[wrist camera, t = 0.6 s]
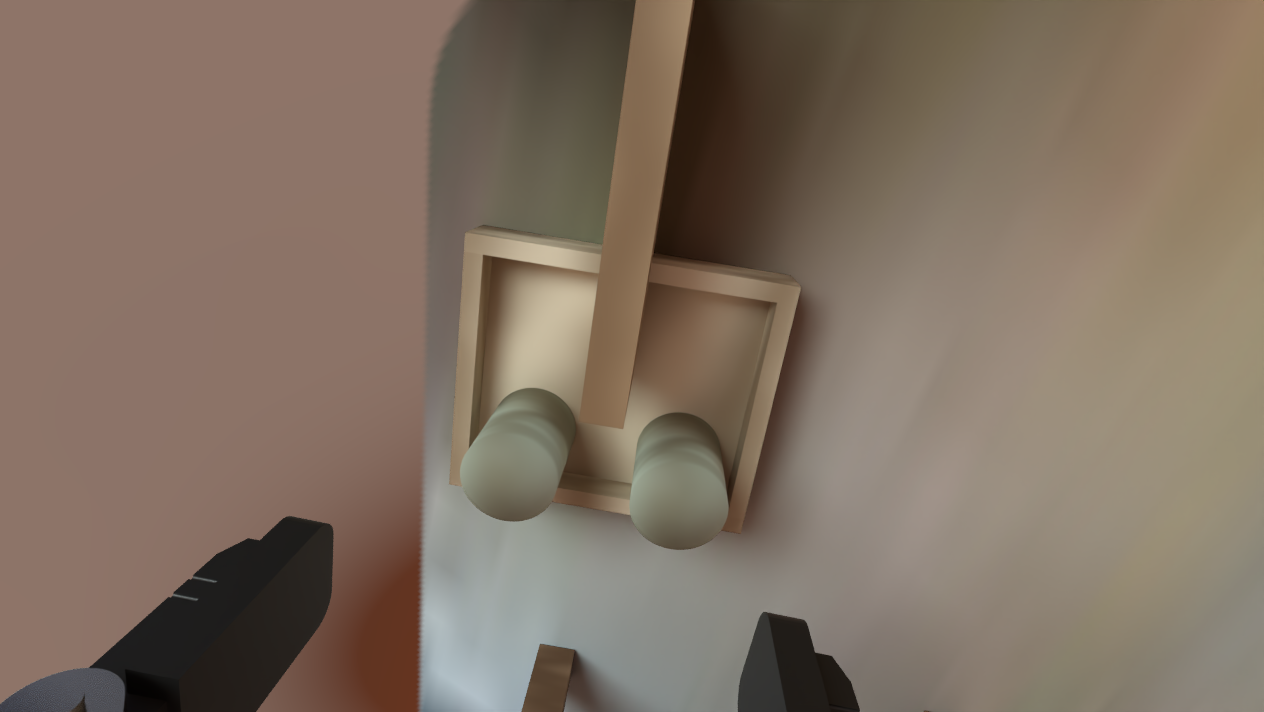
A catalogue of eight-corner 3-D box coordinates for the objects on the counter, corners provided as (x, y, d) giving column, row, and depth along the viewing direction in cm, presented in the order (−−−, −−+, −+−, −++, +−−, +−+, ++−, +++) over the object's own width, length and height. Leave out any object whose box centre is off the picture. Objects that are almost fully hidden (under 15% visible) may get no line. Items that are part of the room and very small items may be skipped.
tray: (856, 0, 24) (936, -65, 17) (735, 504, 32) (754, 617, 24) (503, -56, 25) (426, -144, 17) (466, 459, 32) (401, 556, 25)
